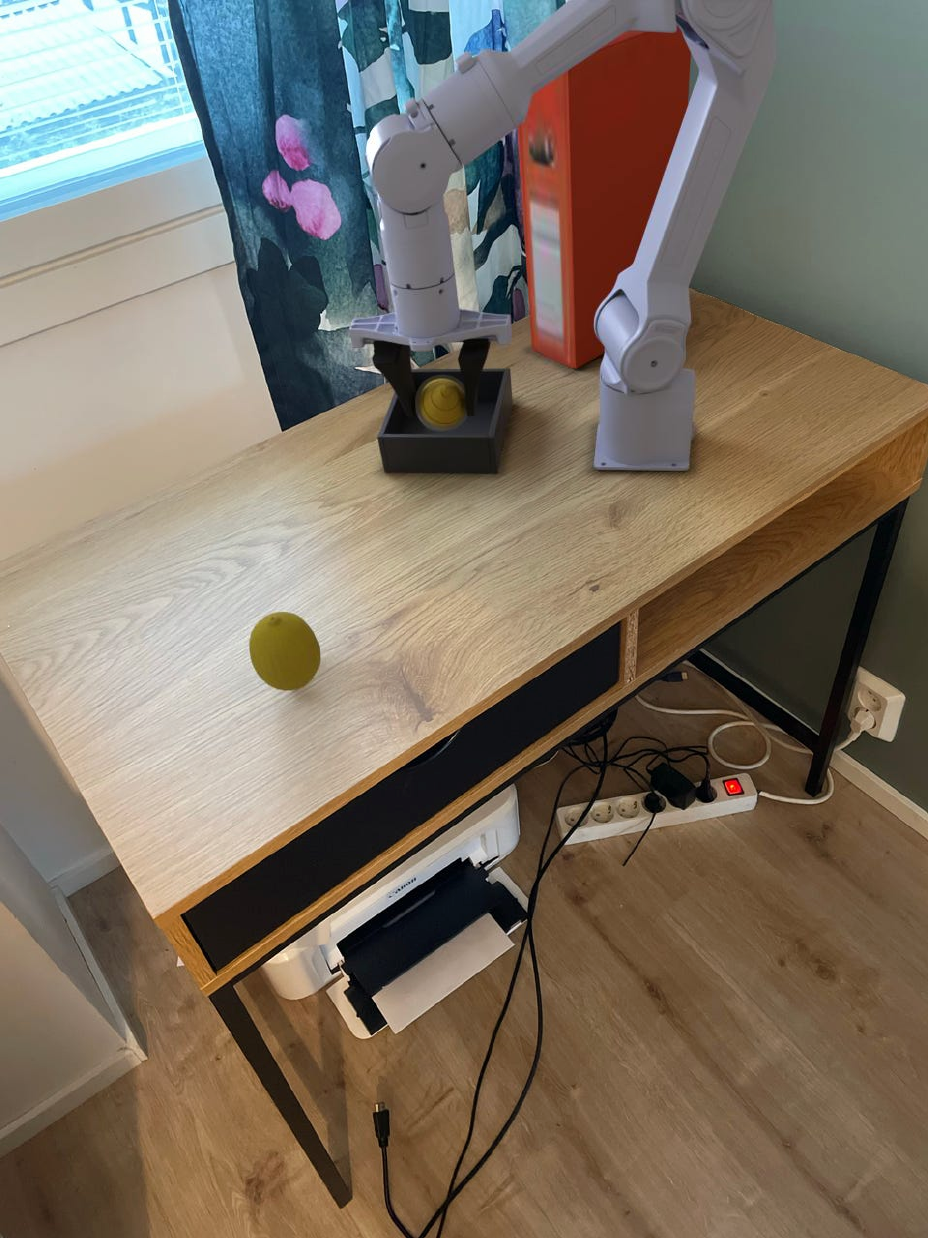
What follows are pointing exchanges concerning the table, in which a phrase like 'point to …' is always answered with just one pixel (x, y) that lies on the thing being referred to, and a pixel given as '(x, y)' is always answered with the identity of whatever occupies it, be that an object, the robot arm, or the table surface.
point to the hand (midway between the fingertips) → (441, 410)
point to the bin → (456, 450)
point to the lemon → (284, 651)
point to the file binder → (595, 180)
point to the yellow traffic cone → (441, 403)
